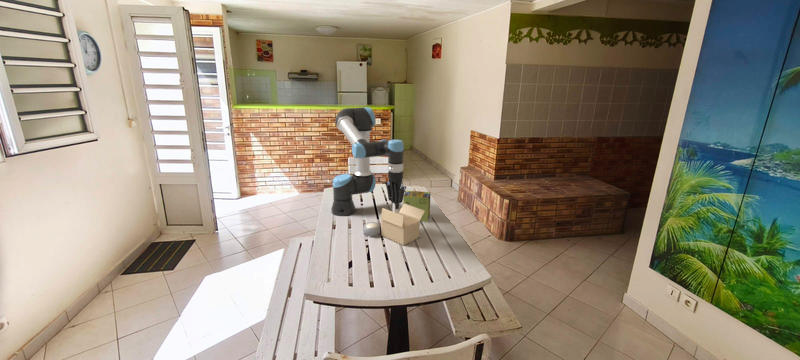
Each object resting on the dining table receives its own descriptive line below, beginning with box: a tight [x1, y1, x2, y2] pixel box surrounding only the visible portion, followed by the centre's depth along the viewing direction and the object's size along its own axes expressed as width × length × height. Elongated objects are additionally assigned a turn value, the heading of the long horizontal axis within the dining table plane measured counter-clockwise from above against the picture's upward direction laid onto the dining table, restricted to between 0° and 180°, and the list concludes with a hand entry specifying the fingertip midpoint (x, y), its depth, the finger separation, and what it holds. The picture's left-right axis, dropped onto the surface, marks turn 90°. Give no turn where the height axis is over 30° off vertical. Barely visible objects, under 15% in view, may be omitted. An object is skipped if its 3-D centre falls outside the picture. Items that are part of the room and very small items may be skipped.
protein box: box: [402, 190, 431, 223], centre depth 208 cm, size 10×15×16 cm
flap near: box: [380, 207, 404, 227], centre depth 177 cm, size 15×6×1 cm
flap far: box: [398, 204, 425, 220], centre depth 189 cm, size 15×6×1 cm
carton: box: [380, 211, 421, 246], centre depth 184 cm, size 17×13×10 cm
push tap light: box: [363, 221, 381, 238], centre depth 188 cm, size 9×9×5 cm
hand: (395, 214), depth 178 cm, fingers closed
